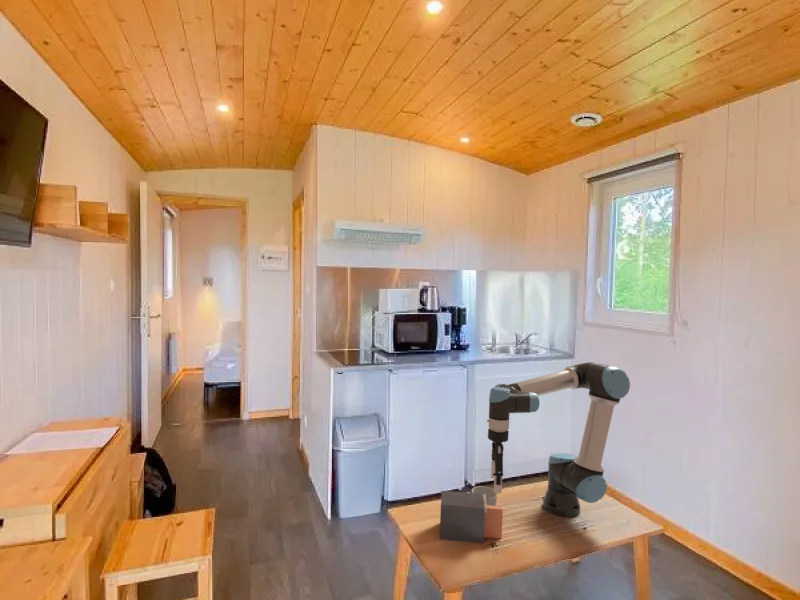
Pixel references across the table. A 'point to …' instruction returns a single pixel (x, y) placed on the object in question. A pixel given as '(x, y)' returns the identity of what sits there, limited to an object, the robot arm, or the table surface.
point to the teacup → (489, 492)
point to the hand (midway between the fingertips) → (496, 485)
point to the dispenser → (462, 516)
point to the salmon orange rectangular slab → (493, 522)
